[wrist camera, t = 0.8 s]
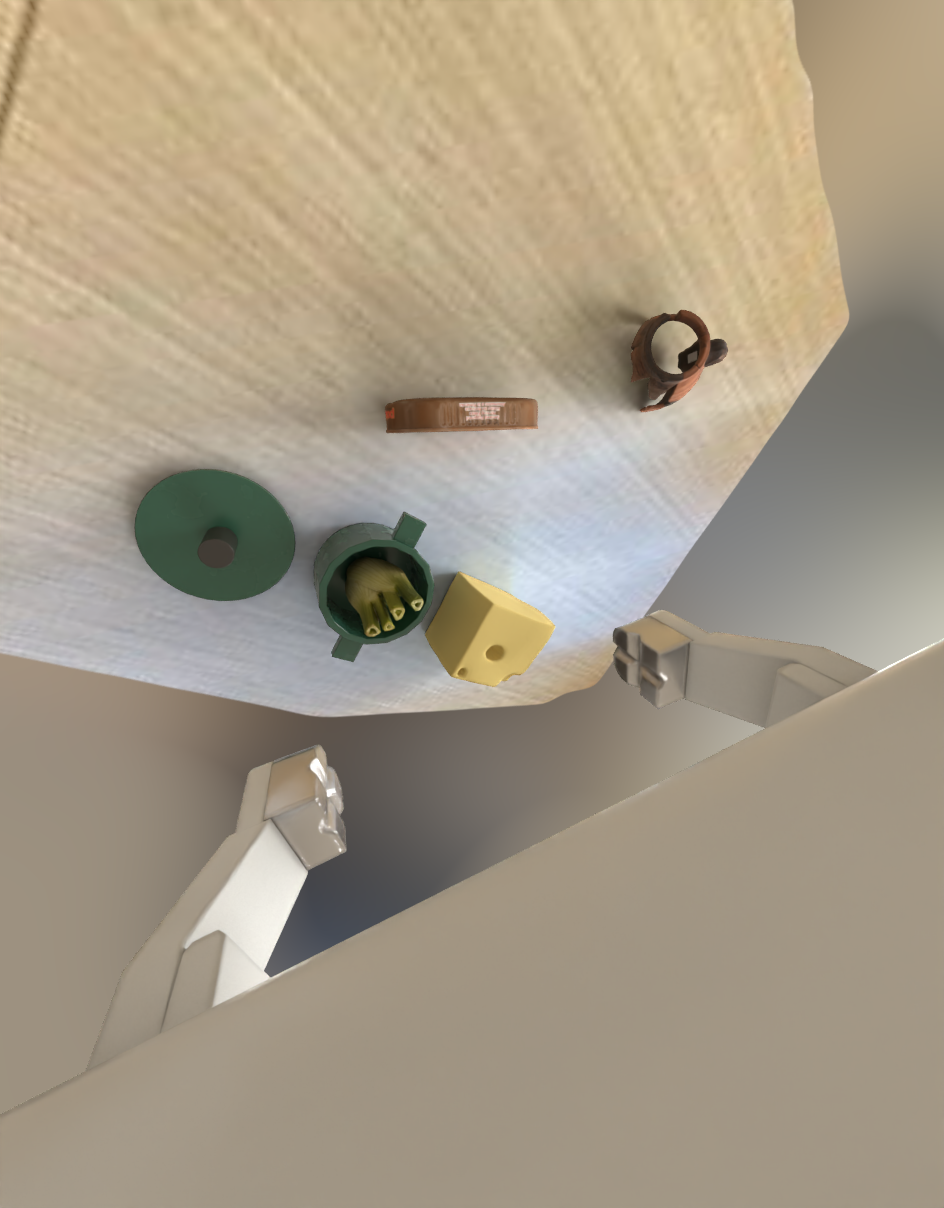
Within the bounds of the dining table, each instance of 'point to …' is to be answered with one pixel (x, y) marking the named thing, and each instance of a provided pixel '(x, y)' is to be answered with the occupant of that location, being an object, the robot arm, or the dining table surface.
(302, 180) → the dining table surface
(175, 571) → the lid
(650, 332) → the brown rounded piece
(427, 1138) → the robot arm
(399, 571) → the fennel bulb
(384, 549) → the pot
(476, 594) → the cheese
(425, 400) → the tin
